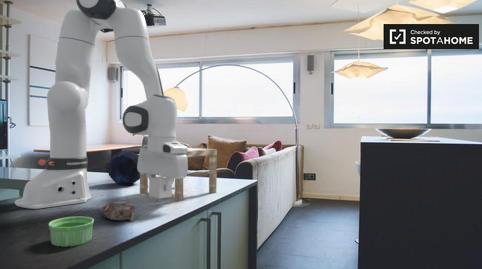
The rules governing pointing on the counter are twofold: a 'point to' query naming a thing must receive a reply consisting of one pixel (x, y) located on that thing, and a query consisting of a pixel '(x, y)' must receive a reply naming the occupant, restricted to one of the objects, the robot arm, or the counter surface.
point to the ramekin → (71, 231)
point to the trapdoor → (194, 149)
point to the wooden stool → (179, 182)
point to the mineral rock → (119, 210)
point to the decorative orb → (124, 168)
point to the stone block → (158, 187)
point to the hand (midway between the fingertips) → (160, 189)
